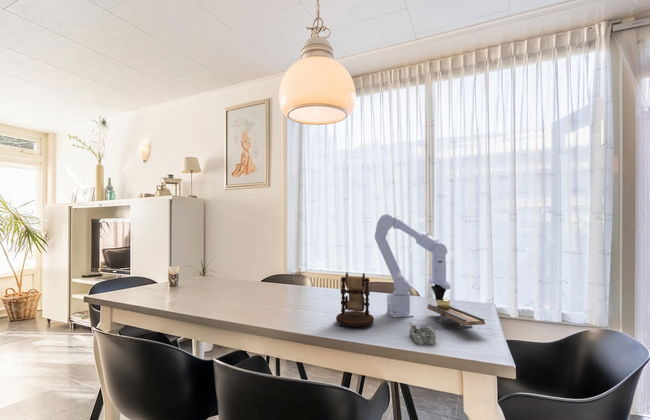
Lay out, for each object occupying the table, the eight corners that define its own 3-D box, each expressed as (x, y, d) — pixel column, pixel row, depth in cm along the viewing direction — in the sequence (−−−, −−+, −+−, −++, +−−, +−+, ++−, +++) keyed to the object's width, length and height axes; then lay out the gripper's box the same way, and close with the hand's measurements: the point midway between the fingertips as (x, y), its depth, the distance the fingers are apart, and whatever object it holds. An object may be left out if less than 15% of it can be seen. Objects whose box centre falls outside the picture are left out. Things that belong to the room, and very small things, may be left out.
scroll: (375, 319, 132) (375, 270, 133) (371, 331, 118) (371, 276, 118) (340, 317, 136) (340, 269, 136) (332, 328, 121) (332, 274, 122)
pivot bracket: (445, 328, 121) (445, 316, 121) (435, 322, 129) (435, 311, 129) (472, 327, 123) (472, 315, 123) (460, 321, 130) (460, 310, 131)
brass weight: (441, 310, 131) (440, 301, 131) (434, 307, 136) (434, 299, 136) (452, 309, 132) (451, 300, 132) (445, 307, 137) (445, 298, 137)
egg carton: (408, 334, 116) (408, 322, 116) (430, 334, 115) (430, 323, 116) (414, 345, 105) (413, 332, 106) (437, 345, 105) (437, 333, 105)
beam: (463, 325, 112) (463, 319, 112) (427, 308, 139) (427, 304, 139) (485, 324, 113) (484, 318, 113) (444, 308, 140) (444, 303, 140)
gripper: (456, 273, 131) (457, 307, 131) (439, 268, 145) (439, 298, 145) (440, 273, 130) (441, 307, 130) (424, 268, 144) (424, 299, 144)
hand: (439, 303), depth 137 cm, fingers closed
